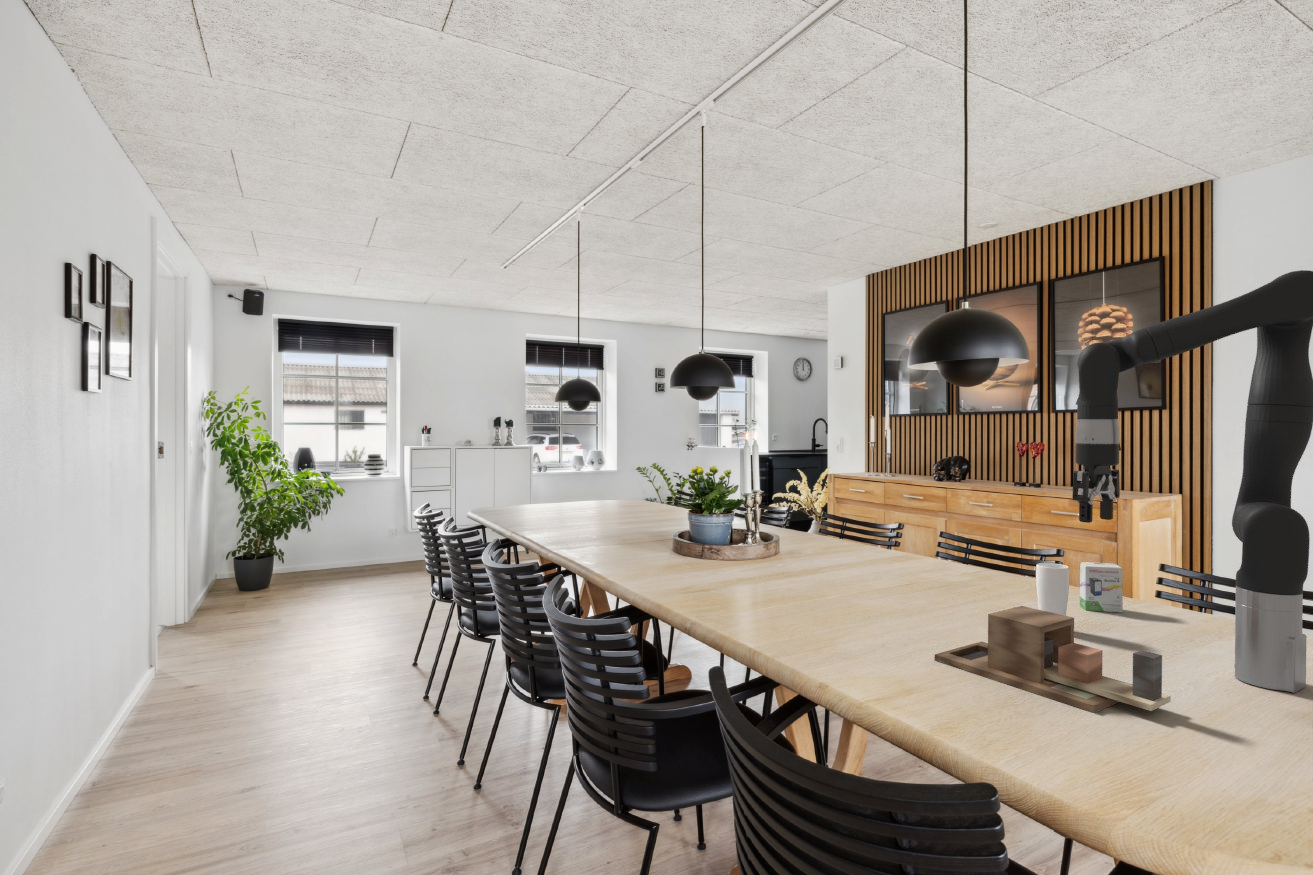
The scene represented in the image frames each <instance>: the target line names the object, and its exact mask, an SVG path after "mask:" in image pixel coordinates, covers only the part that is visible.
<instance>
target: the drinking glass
mask: <svg viewBox="0 0 1313 875" xmlns="http://www.w3.org/2000/svg"><path fill="white" fill-rule="evenodd" d="M1035 585H1036V598H1037V609H1038V610H1042V611H1047V612H1051V613H1056V614H1060V615H1064V616H1067V609H1068V601H1069V594H1070V593H1069V592H1070V567H1069V566H1068V565H1066V564H1059V563H1053V562H1040V563H1036V566H1035Z"/></svg>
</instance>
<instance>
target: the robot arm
mask: <svg viewBox="0 0 1313 875" xmlns="http://www.w3.org/2000/svg"><path fill="white" fill-rule="evenodd" d="M1252 329H1256V338H1257V339H1256V357H1255V360H1254V365H1253V370H1252V374H1251V380H1250V386H1249V390H1248V391H1249V392H1248V398H1247V406H1246V415H1245V424H1244V426H1245V427H1244V428H1245V429H1244V439H1243V441H1244V442H1243V458H1242V459H1243V461H1242V467H1243V468H1242V476H1241V482H1240V485H1239V489H1238V494H1237V497H1236V498H1237V500H1236V501H1235V505H1234V506H1235V507H1234V510H1233V514H1232V518H1231V526H1232V531H1233V533H1234V535H1235V537H1236V538H1237V539H1238V540H1239V541H1240V542H1241V543H1242V549H1241V550H1242V551H1241V552H1242V553H1241V555H1242V556H1241V564H1240V567H1239V569H1238V570H1237V571H1236V573H1235V608H1234V610H1235V614H1234V617H1235V620H1234V626H1235V627H1234V677H1235V679H1237V680H1239V681H1241V682H1243V683H1246V684H1248V685H1253V686H1255V687H1258V688H1263V689H1269V690H1276V691H1284V692H1288V693H1289V692H1290V693H1298V691H1300V690H1302V689H1304V688H1305V687H1306V686H1307V635H1306V633H1303V609H1304V608H1303V605H1304V604H1303V602H1304V601H1303V599H1304V597H1303V596H1304V595H1303V593H1304V584H1305V582H1306V580H1307V578H1308V572H1309V557H1310V538H1311V537H1310V529H1309V525H1308V521H1307V520H1306V519H1305V517H1304V516H1303V515H1302V514H1301V513H1300V512H1298V511H1297V510H1295V509H1294V508H1292V486H1293V478H1294V475H1295V472H1296V469H1297V467H1298V466H1299V463H1300V461H1301V459H1302V458H1303V455H1304V454H1305V452H1306V451H1305V450H1306V448H1307V446H1308V444H1309V441H1310V438H1311V435H1312V430H1313V372H1312V369H1311V368H1312V367H1311V363H1310V356H1309V355H1310V353H1309V352H1310V351H1309V349H1310V342H1311V337H1312V333H1313V332H1312V331H1313V270H1295V271H1290V272H1287V273H1284V274H1281V275H1279V276H1278V277H1276V278H1274V279H1273V280H1272V281H1270V282H1268V283H1266V284H1264V285H1262V286H1259V287H1258V288H1256V289H1254V290H1251V291H1249V292H1247V293H1244V294H1241V295H1239V296H1237V297H1234V298H1232V299H1230V300H1227V301H1224V302H1221V303H1218V304H1216V305H1212V306H1210V307H1207V308H1203V309H1199V310H1196V311H1193V312H1190V313H1186V314H1183V315H1180V316H1176V317H1173V318H1170V319H1167V320H1163V321H1160V322H1157V323H1154V324H1153V325H1149V326H1145V327H1142V328H1139V329H1138V330H1135V331H1133V332H1131V333H1129V334H1128V335H1126V336H1123V337H1119V338H1116V339H1113V340H1110V341H1107V342H1094V343H1090V344H1088V345H1087V346H1086V347H1084V348H1083V349H1082V350H1081V351H1080V353H1079V355H1078V358H1077V368H1078V386H1079V390H1078V392H1079V393H1078V398H1077V407H1076V410H1077V412H1076V413H1077V414H1076V415H1077V416H1076V417H1077V418H1076V427H1075V453H1074V454H1075V457H1074V458H1075V462H1074V463H1076V464H1077V465H1079V466H1082V470H1074V471H1073V472H1072V478H1073V479H1072V497H1071V498H1072V500H1073V501H1076V503H1077V504H1078V510H1079V511H1078V521H1079V522H1081V523H1088V524H1089V523H1092V522H1093V516H1094V515H1093V513H1094V512H1093V509H1094V508H1093V507H1094V506H1093V503H1094V500H1095V497H1096V496H1098V497H1099V500H1100V501H1099V518H1100V519H1101V520H1104V521H1105V520H1107V521H1111V520H1113V518H1114V502H1115V501H1116V499H1119V498H1120V496H1121V494H1120V493H1121V492H1120V491H1121V490H1120V487H1121V486H1120V469H1115V468H1111V467H1113V466H1118V465H1119V464H1120V426H1119V399H1118V388H1119V380H1120V379H1119V378H1120V376H1119V375H1120V373H1123V372H1126V371H1128V370H1131V369H1133V368H1136V367H1138V366H1142V365H1147V364H1150V363H1151V364H1152V363H1154V362H1158V361H1162V360H1164V359H1168V358H1172V357H1175V356H1178V355H1181V354H1183V353H1186V352H1190V351H1192V350H1195V349H1197V348H1201V347H1203V346H1206V345H1209V344H1210V343H1211V344H1212V343H1213V342H1216V341H1219V340H1222V339H1223V338H1224V339H1225V338H1226V337H1229V336H1233V335H1236V334H1238V333H1241V332H1246V331H1249V330H1252Z"/></svg>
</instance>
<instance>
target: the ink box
mask: <svg viewBox="0 0 1313 875" xmlns="http://www.w3.org/2000/svg"><path fill="white" fill-rule="evenodd" d="M1079 564H1080V565H1079V566H1080V567H1079V568H1080V569H1079V606H1080V607H1081V608H1082V609H1083V610H1085V611H1090V612H1104V613H1105V612H1109V613H1123V612H1124V611H1123V610H1124V607H1123V604H1124V601H1123V598H1124V597H1123V596H1124V595H1123V577H1124V576H1123V575H1124V574H1123V570H1124V569H1123V567H1122V566H1120V565H1118V564H1117V563H1109V562H1106V563H1105V562H1092V561H1091V562H1090V561H1088V562H1087V561H1082V562H1080V563H1079Z"/></svg>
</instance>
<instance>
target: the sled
mask: <svg viewBox="0 0 1313 875" xmlns="http://www.w3.org/2000/svg"><path fill="white" fill-rule="evenodd" d="M1103 676H1104V675H1103V649H1099V648H1095V647H1091V646H1089V645H1084V644H1079V643H1076V642H1074V643H1070V644H1067V645H1064V646H1061V647H1058V664H1057V663H1054V662H1053V639H1050V638H1047V637H1044V678H1045V679H1048V680H1052V681H1055V682H1058V683H1061V684H1065V685H1068V686H1071V687H1074V688H1078V689H1081V690H1084V691H1087V692H1091V693H1094V694H1097V695H1100V696H1104V697H1107V698H1110V699H1113V700H1117V701H1120V702H1119V703H1123V704H1127V705H1131V706H1133V707H1136V708H1140V709H1143V710H1145V711H1150V712H1152V711H1154V710H1156V709H1158V708H1160V707H1161V708H1162V706H1165V705H1167V704H1170V703H1171V702H1172V698H1171V697H1172V696H1171V695H1169V694H1165V693H1162V692H1163V685H1162V684H1163V655H1162V654H1159V653H1156V652H1152V651H1151V652H1150V651H1147V650H1142V649H1141V650H1138V651H1136V652H1133V653H1132V683H1129V684H1127V683H1128V682H1126V683H1124V682H1125V681H1122V682H1120V681H1121V680H1119V681H1117V680H1118V679H1115V680H1113V679H1114V678H1112V679H1110V678H1111V677H1108V678H1106V677H1107V676H1105V677H1103ZM1131 684H1133V685H1131Z"/></svg>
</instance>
